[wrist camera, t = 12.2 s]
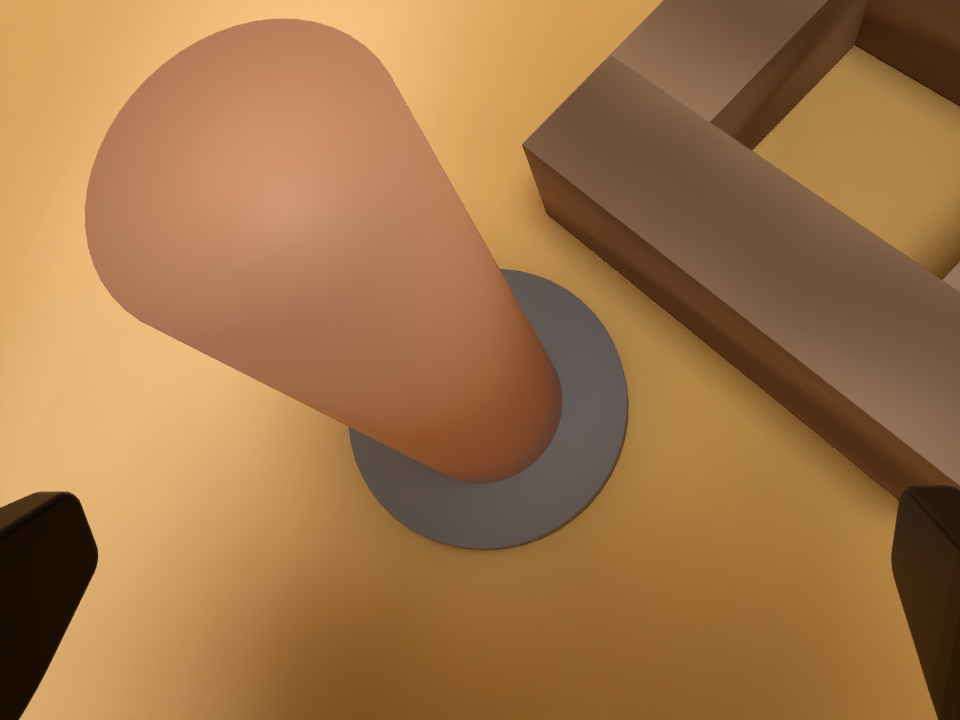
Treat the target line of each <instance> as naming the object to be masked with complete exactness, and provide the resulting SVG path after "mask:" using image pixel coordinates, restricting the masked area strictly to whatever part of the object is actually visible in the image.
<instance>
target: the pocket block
mask: <svg viewBox="0 0 960 720" xmlns="http://www.w3.org/2000/svg"><path fill="white" fill-rule="evenodd" d="M854 45H857V46H859V47H860V48H862V49H864V50H866V51H867V52H869V53H871V54H872V55H874V56H876V57H878V58H879V59H881V60H883V61H884V62H886V63H888V64H890V65H891V66H893V67H895V68H896V69H898V70H900V71H902V72H903V73H905V74H907V75H908V76H910V77H912V78H914V79H915V80H917V81H919V82H920V83H922V84H924V85H926V86H927V87H929V88H931V89H932V90H934V91H936V92H938V93H939V94H941V95H943V96H944V97H946V98H948V99H950V100H951V101H953V102H955V103H956V104H958V105H960V0H664V1H663V2H662V3H661V4H660V5H659V6H658V7H657V8H656V9H655V10H654V11H653V12H652V13H651V14H650V15H649V16H648V17H647V18H646V19H645V20H644V21H643V22H642V23H641V24H640V25H639V26H638V27H637V28H636V29H635V30H634V31H633V32H632V33H631V34H630V35H629V36H628V37H627V38H626V39H625V40H624V41H623V42H622V43H621V44H620V45H619V46H618V47H617V48H616V49H615V50H614V51H613V52H612V53H611V55H610V56H609V57H608V58H607V59H606V60H605V61H604V62H603V63H602V64H601V65H600V66H599V67H598V68H597V69H596V70H595V71H594V72H593V73H592V74H591V75H590V76H589V77H588V78H587V79H586V80H585V81H584V82H583V83H582V84H581V85H580V86H579V87H578V88H577V89H576V90H575V91H574V92H573V93H572V94H571V95H570V96H569V97H568V98H567V99H566V100H565V101H564V102H563V103H562V104H561V105H560V106H559V107H558V108H557V109H556V110H555V111H554V112H553V113H552V115H551V116H550V117H549V118H548V119H547V120H546V121H545V122H544V123H543V124H542V125H541V126H540V127H539V128H538V129H537V130H536V131H535V132H534V133H533V134H532V135H531V136H530V137H529V138H528V139H527V140H526V141H525V142H524V143H523V144H522V146H523V149H524V151H525V154H526V157H527V160H528V162H529V165H530V168H531V171H532V174H533V176H534V179H535V182H536V185H537V187H538V190H539V193H540V196H541V199H542V201H543V204H544V207H545V210H546V213H547V214H548V215H549V216H550V217H551V218H553V219H554V220H555V221H556V222H558V223H559V224H560V225H561V226H563V227H564V228H565V229H566V230H567V231H569V232H570V233H571V234H572V235H574V236H575V237H576V238H577V239H579V240H580V241H581V242H582V243H584V244H585V245H586V246H587V247H588V248H590V249H591V250H592V251H593V252H595V253H596V254H597V255H598V256H600V257H601V258H602V259H603V260H604V261H606V262H607V263H608V264H609V265H611V266H612V267H613V268H614V269H616V270H617V271H618V272H619V273H620V274H622V275H623V276H624V277H625V278H627V279H628V280H629V281H630V282H632V283H633V284H634V285H635V286H636V287H638V288H639V289H640V290H641V291H643V292H644V293H645V294H646V295H648V296H649V297H650V298H651V299H652V300H654V301H655V302H656V303H657V304H659V305H660V306H661V307H662V308H664V309H665V310H666V311H667V312H668V313H670V314H671V315H672V316H673V317H675V318H676V319H677V320H678V321H680V322H681V323H682V324H683V325H684V326H686V327H687V328H688V329H689V330H691V331H692V332H693V333H694V334H696V335H697V336H698V337H699V338H700V339H702V340H703V341H704V342H705V343H707V344H708V345H709V346H710V347H712V348H713V349H714V350H715V351H716V352H718V353H719V354H720V355H721V356H723V357H724V358H725V359H726V360H728V361H729V362H730V363H731V364H732V365H734V366H735V367H736V368H737V369H739V370H740V371H741V372H742V373H744V374H745V375H746V376H747V377H748V378H750V379H751V380H752V381H753V382H755V383H756V384H757V385H758V386H760V387H761V388H762V389H763V390H764V391H766V392H767V393H768V394H769V395H771V396H772V397H773V398H774V399H776V400H777V401H778V402H779V403H780V404H782V405H783V406H784V407H785V408H787V409H788V410H789V411H790V412H792V413H793V414H794V415H795V416H797V417H798V418H799V419H800V420H801V421H803V422H804V423H805V424H806V425H808V426H809V427H810V428H811V429H813V430H814V431H815V432H816V433H817V434H819V435H820V436H821V437H822V438H824V439H825V440H826V441H827V442H829V443H830V444H831V445H832V446H833V447H835V448H836V449H837V450H838V451H840V452H841V453H842V454H843V455H845V456H846V457H847V458H848V459H849V460H851V461H852V462H853V463H854V464H856V465H857V466H858V467H859V468H861V469H862V470H863V471H864V472H865V473H867V474H868V475H869V476H870V477H872V478H873V479H874V480H875V481H877V482H878V483H879V484H880V485H881V486H883V487H884V488H885V489H886V490H888V491H889V492H890V493H891V494H893V495H894V496H895V497H896V498H897V499H900V496H901V493H902V491H903V490H904V489H905V488H906V487H908V486H910V485H949V486H953V487H955V488H957V489H959V490H960V262H959V263H958V264H957V265H956V266H955V267H954V268H953V269H952V270H951V271H950V272H949V274H948V275H947V276H946V277H945V278H944V279H943V280H941V279H940V278H938V277H937V276H935V275H934V274H932V273H931V272H929V271H928V270H926V269H925V268H923V267H922V266H921V265H919V264H918V263H916V262H915V261H913V260H912V259H910V258H909V257H907V256H906V255H904V254H903V253H901V252H900V251H898V250H897V249H896V248H894V247H893V246H891V245H890V244H888V243H887V242H885V241H884V240H882V239H881V238H879V237H878V236H876V235H875V234H873V233H872V232H871V231H869V230H868V229H866V228H865V227H863V226H862V225H860V224H859V223H857V222H856V221H854V220H853V219H851V218H850V217H848V216H847V215H846V214H844V213H843V212H841V211H840V210H838V209H837V208H835V207H834V206H832V205H831V204H829V203H828V202H826V201H825V200H823V199H822V198H820V197H819V196H818V195H816V194H815V193H813V192H812V191H810V190H809V189H807V188H806V187H804V186H803V185H801V184H800V183H798V182H797V181H795V180H794V179H793V178H791V177H790V176H788V175H787V174H785V173H784V172H782V171H781V170H779V169H778V168H776V167H775V166H773V165H772V164H770V163H769V162H768V161H766V160H765V159H763V158H762V157H760V156H759V155H757V154H756V153H754V152H753V151H752V150H753V149H754V148H755V147H756V146H757V145H758V144H759V143H760V142H761V141H762V139H763V138H764V137H765V136H766V135H767V134H768V133H769V132H770V131H771V130H772V129H773V128H774V127H775V126H776V125H777V124H778V123H779V122H780V121H781V120H782V119H783V118H784V117H785V116H786V115H787V114H788V113H789V112H790V111H791V110H792V109H793V108H794V106H795V105H796V104H797V103H798V102H799V101H800V100H801V99H802V98H803V97H804V96H805V95H806V94H807V93H808V92H809V91H810V90H811V89H812V88H813V87H814V86H815V85H816V84H817V83H818V82H819V81H820V80H821V79H822V78H823V77H824V76H825V75H826V73H827V72H828V71H829V70H830V69H831V68H832V67H833V66H834V65H835V64H836V63H837V62H838V61H839V60H840V59H841V58H842V57H843V56H844V55H845V54H846V53H847V52H848V51H849V50H850V49H851V48H852V47H853V46H854Z"/></svg>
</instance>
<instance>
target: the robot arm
mask: <svg viewBox="0 0 960 720" xmlns="http://www.w3.org/2000/svg"><path fill="white" fill-rule="evenodd" d="M97 562H98V549H97V545H96V543H95V540H94V537H93V535H92V532H91V529H90V526H89V524H88V521H87V518H86V516H85V513H84V510H83V508H82V505H81V503H80V501H79V499H78V498H77V497H76V496H75V495H74V494H72V493H70V492H37V493H33V494H31V495H28V496H26V497H24V498H22V499H19V500H17V501H15V502H12V503H10V504H8V505H6V506H3V507H1V508H0V720H19V719H20V717H21V716H22V714H23V712H24V711H25V709H26V707H27V706H28V704H29V702H30V700H31V699H32V697H33V695H34V693H35V692H36V690H37V688H38V686H39V684H40V683H41V681H42V679H43V677H44V675H45V673H46V671H47V669H48V667H49V665H50V663H51V661H52V659H53V657H54V655H55V653H56V650H57V648H58V646H59V644H60V642H61V640H62V638H63V636H64V634H65V632H66V630H67V628H68V626H69V624H70V622H71V620H72V617H73V615H74V613H75V611H76V609H77V607H78V605H79V603H80V601H81V599H82V597H83V595H84V593H85V591H86V589H87V587H88V584H89V582H90V580H91V578H92V576H93V574H94V572H95V570H96V566H97ZM891 562H892V571H893V576H894V580H895V583H896V586H897V589H898V593H899V596H900V599H901V602H902V606H903V609H904V612H905V615H906V619H907V622H908V625H909V628H910V632H911V635H912V638H913V641H914V645H915V648H916V651H917V654H918V658H919V661H920V664H921V667H922V671H923V674H924V677H925V680H926V684H927V687H928V690H929V693H930V697H931V700H932V703H933V706H934V709H935V712H936V714H937V717H938V720H960V490H959V489H957V488H955V487H953V486H949V485H910V486H908V487H906V488H905V489H904V490H903V491H902V493H901V496H900V499H899V505H898V511H897V518H896V525H895V532H894V539H893V546H892V554H891Z"/></svg>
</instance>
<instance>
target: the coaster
mask: <svg viewBox="0 0 960 720" xmlns="http://www.w3.org/2000/svg"><path fill="white" fill-rule="evenodd" d="M500 271H501V273H502V274H503V276H504V278H505V280H506V282H507V283H508V285H509V287H510V289H511V290H512V292H513V294H514V296H515V298H516V299H517V301H518V303H519V305H520V306H521V308H522V310H523V312H524V314H525V315H526V317H527V319H528V321H529V322H530V324H531V326H532V328H533V329H534V331H535V333H536V335H537V337H538V338H539V340H540V342H541V344H542V345H543V347H544V349H545V351H546V353H547V354H548V356H549V358H550V360H551V362H552V363H553V365H554V367H555V369H556V371H557V374H558V377H559V380H560V384H561V389H562V412H561V418H560V422H559V425H558V428H557V431H556V433H555V435H554V437H553V440H552V441H551V443H550V444H549V446H548V448H547V449H546V450H545V452H544V453H543V454H542V455H541V456H540V458H539V459H537V460H536V461H535V462H534V463H533V464H532V465H531V466H529V467H528V468H527V469H525V470H524V471H522V472H521V473H519V474H517V475H515V476H513V477H510V478H508V479H505V480H502V481H498V482H493V483H483V484H478V483H468V482H462V481H459V480H456V479H453V478H450V477H448V476H446V475H444V474H442V473H440V472H438V471H436V470H434V469H432V468H430V467H428V466H426V465H424V464H422V463H420V462H418V461H416V460H414V459H412V458H410V457H408V456H406V455H404V454H403V453H401V452H399V451H397V450H395V449H393V448H391V447H389V446H387V445H385V444H383V443H381V442H379V441H377V440H375V439H373V438H371V437H369V436H367V435H365V434H363V433H361V432H359V431H357V430H355V429H353V428H351V427H349V431H350V439H351V445H352V448H353V452H354V456H355V460H356V462H357V465H358V467H359V470H360V472H361V474H362V477H363V478H364V480H365V482H366V483H367V485H368V487H369V489H370V490H371V492H372V493H373V494H374V496H375V497H376V498H377V500H378V501H379V502H380V503H381V505H382V506H383V507H384V508H385V509H386V510H387V511H388V512H389V513H390V514H391V515H392V516H393V517H395V518H396V519H397V520H399V521H400V522H401V523H403V524H404V525H405V526H407V527H408V528H410V529H412V530H413V531H415V532H417V533H419V534H421V535H423V536H425V537H427V538H430V539H433V540H435V541H438V542H441V543H444V544H449V545H454V546H458V547H463V548H468V549H481V550H493V549H506V548H511V547H516V546H521V545H525V544H527V543H530V542H533V541H536V540H539V539H542V538H543V537H545V536H547V535H549V534H551V533H553V532H555V531H557V530H559V529H560V528H562V527H563V526H565V525H566V524H568V523H569V522H570V521H572V520H573V519H575V518H576V517H577V516H578V515H579V514H580V513H581V512H582V511H583V510H584V509H586V508H587V507H588V506H589V505H590V503H591V502H592V501H593V500H594V499H595V497H596V496H597V495H598V494H599V493H600V492H601V490H602V489H603V487H604V485H605V484H606V482H607V481H608V479H609V477H610V476H611V474H612V472H613V470H614V468H615V465H616V463H617V461H618V459H619V456H620V453H621V450H622V447H623V443H624V440H625V435H626V429H627V423H628V394H627V385H626V381H625V377H624V373H623V369H622V365H621V361H620V358H619V355H618V353H617V350H616V348H615V345H614V343H613V341H612V339H611V337H610V336H609V334H608V332H607V330H606V329H605V327H604V326H603V324H602V323H601V322H600V320H599V319H598V318H597V316H596V315H595V314H594V313H593V312H592V311H591V310H590V309H589V308H588V307H587V306H586V305H585V304H584V303H583V302H582V301H581V300H580V299H579V298H577V297H576V296H575V295H573V294H572V293H571V292H569V291H568V290H566V289H565V288H563V287H561V286H559V285H557V284H555V283H554V282H552V281H549V280H547V279H544V278H542V277H539V276H536V275H533V274H529V273H525V272H521V271H514V270H505V269H500Z"/></svg>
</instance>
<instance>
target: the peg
mask: <svg viewBox="0 0 960 720" xmlns="http://www.w3.org/2000/svg"><path fill="white" fill-rule="evenodd" d="M85 229H86V235H87V242H88V248H89V251H90V254H91V258H92V261H93V264H94V267H95V269H96V271H97V273H98V275H99V277H100V279H101V281H102V283H103V284H104V286H105V287H106V288H107V290H108V291H109V293H110V294H111V296H112V297H113V298H114V299H115V300H116V301H117V302H118V303H119V304H120V305H121V306H122V307H123V308H124V309H125V310H126V311H127V312H129V313H130V314H131V315H133V316H134V317H135V318H137V319H138V320H139V321H141V322H143V323H145V324H147V325H149V326H151V327H153V328H155V329H157V330H159V331H161V332H163V333H165V334H167V335H169V336H171V337H173V338H175V339H177V340H179V341H181V342H183V343H185V344H186V345H188V346H190V347H192V348H194V349H196V350H198V351H200V352H202V353H204V354H206V355H208V356H210V357H212V358H214V359H216V360H218V361H220V362H222V363H224V364H226V365H228V366H230V367H232V368H234V369H236V370H238V371H240V372H242V373H244V374H246V375H248V376H250V377H252V378H254V379H256V380H258V381H260V382H262V383H264V384H266V385H268V386H270V387H272V388H274V389H276V390H278V391H280V392H282V393H284V394H286V395H288V396H290V397H292V398H294V399H295V400H297V401H299V402H301V403H303V404H305V405H307V406H309V407H311V408H313V409H315V410H317V411H319V412H321V413H323V414H325V415H327V416H329V417H331V418H333V419H335V420H337V421H339V422H341V423H343V424H345V425H347V426H349V427H351V428H353V429H355V430H357V431H359V432H361V433H363V434H365V435H367V436H369V437H371V438H373V439H375V440H377V441H379V442H381V443H383V444H385V445H387V446H389V447H391V448H393V449H395V450H397V451H399V452H401V453H403V454H404V455H406V456H408V457H410V458H412V459H414V460H416V461H418V462H420V463H422V464H424V465H426V466H428V467H430V468H432V469H434V470H436V471H438V472H440V473H442V474H444V475H446V476H448V477H450V478H453V479H456V480H459V481H462V482H468V483H478V484H483V483H493V482H498V481H502V480H505V479H508V478H510V477H513V476H515V475H517V474H519V473H521V472H522V471H524V470H525V469H527V468H528V467H529V466H531V465H532V464H533V463H534V462H535V461H536V460H537V459H539V458H540V456H541V455H542V454H543V453H544V452H545V450H546V449H547V448H548V446H549V444H550V443H551V441H552V440H553V437H554V435H555V433H556V431H557V428H558V425H559V422H560V418H561V412H562V389H561V384H560V380H559V377H558V374H557V371H556V369H555V367H554V365H553V363H552V362H551V360H550V358H549V356H548V354H547V353H546V351H545V349H544V347H543V345H542V344H541V342H540V340H539V338H538V337H537V335H536V333H535V331H534V329H533V328H532V326H531V324H530V322H529V321H528V319H527V317H526V315H525V314H524V312H523V310H522V308H521V306H520V305H519V303H518V301H517V299H516V298H515V296H514V294H513V292H512V290H511V289H510V287H509V285H508V283H507V282H506V280H505V278H504V276H503V274H502V273H501V271H500V269H499V267H498V266H497V264H496V262H495V260H494V258H493V257H492V255H491V253H490V251H489V250H488V248H487V246H486V244H485V242H484V241H483V239H482V237H481V235H480V234H479V232H478V230H477V228H476V226H475V225H474V223H473V221H472V219H471V218H470V216H469V214H468V212H467V210H466V209H465V207H464V205H463V203H462V202H461V200H460V198H459V196H458V194H457V193H456V191H455V189H454V187H453V186H452V184H451V182H450V180H449V178H448V177H447V175H446V173H445V171H444V170H443V168H442V166H441V164H440V163H439V161H438V159H437V157H436V155H435V154H434V152H433V150H432V148H431V147H430V145H429V143H428V141H427V139H426V138H425V136H424V134H423V132H422V131H421V129H420V127H419V125H418V123H417V122H416V120H415V118H414V116H413V115H412V113H411V111H410V109H409V107H408V106H407V104H406V102H405V100H404V99H403V97H402V95H401V93H400V91H399V90H398V88H397V86H396V84H395V83H394V81H393V79H392V77H391V75H390V74H389V72H388V71H387V69H386V68H385V67H384V66H383V64H382V63H381V62H380V60H379V59H378V58H377V57H376V56H375V55H374V54H373V53H372V52H371V51H370V50H369V49H368V48H367V47H366V46H365V45H363V44H362V43H360V42H359V41H357V40H356V39H354V38H353V37H351V36H350V35H348V34H346V33H344V32H342V31H339V30H337V29H335V28H333V27H330V26H327V25H323V24H320V23H316V22H312V21H305V20H298V19H270V20H261V21H254V22H250V23H245V24H241V25H237V26H234V27H231V28H228V29H225V30H222V31H219V32H217V33H214V34H212V35H210V36H208V37H206V38H204V39H202V40H200V41H198V42H196V43H194V44H193V45H191V46H189V47H187V48H186V49H184V50H182V51H181V52H179V53H178V54H177V55H175V56H174V57H172V58H171V59H170V60H168V61H167V62H166V63H164V64H163V65H162V66H161V67H160V68H158V69H157V70H156V71H155V72H154V73H153V74H152V75H151V76H150V77H148V78H147V79H146V80H145V81H144V83H143V84H142V85H141V86H140V87H139V88H138V89H137V90H136V91H135V92H134V93H133V95H132V96H131V97H130V98H129V100H128V101H127V102H126V104H125V105H124V106H123V108H122V109H121V110H120V112H119V113H118V115H117V116H116V118H115V120H114V121H113V123H112V125H111V126H110V128H109V129H108V131H107V133H106V135H105V138H104V140H103V142H102V144H101V146H100V148H99V150H98V153H97V156H96V159H95V162H94V164H93V167H92V171H91V175H90V179H89V183H88V188H87V196H86V205H85Z"/></svg>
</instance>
